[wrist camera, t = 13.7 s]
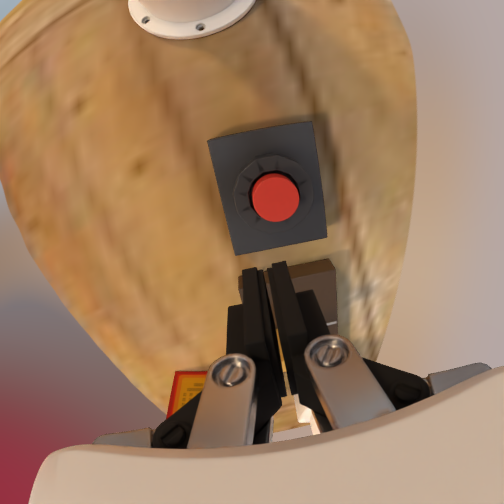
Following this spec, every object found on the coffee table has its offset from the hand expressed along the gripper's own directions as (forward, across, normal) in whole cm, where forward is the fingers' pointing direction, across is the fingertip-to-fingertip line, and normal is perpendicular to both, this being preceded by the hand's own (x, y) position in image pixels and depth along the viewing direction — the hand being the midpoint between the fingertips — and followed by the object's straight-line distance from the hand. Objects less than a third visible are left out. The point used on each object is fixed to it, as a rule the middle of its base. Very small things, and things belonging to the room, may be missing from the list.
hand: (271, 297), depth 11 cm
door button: (+13, -2, 0) cm, 14 cm away
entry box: (+17, -2, 0) cm, 17 cm away
